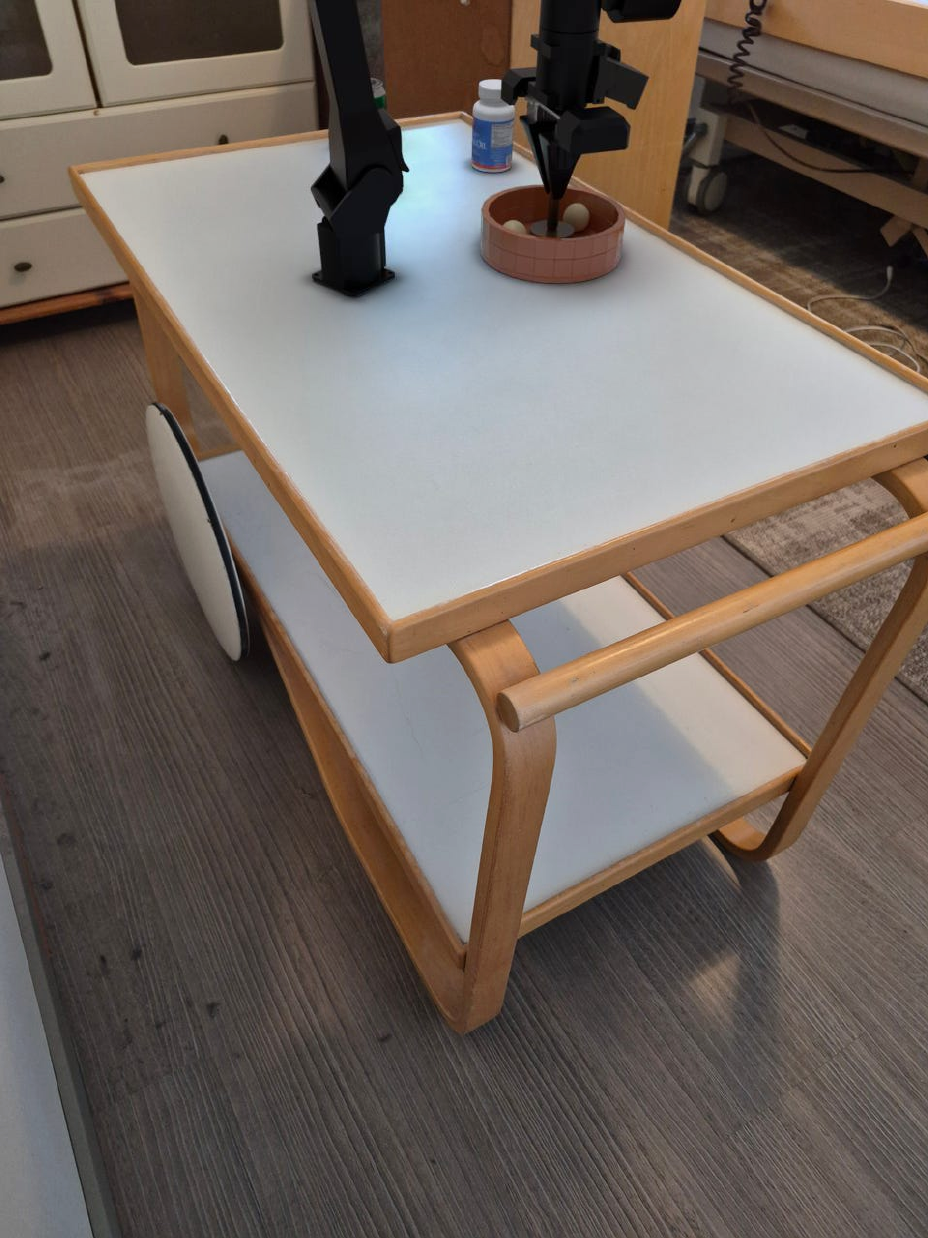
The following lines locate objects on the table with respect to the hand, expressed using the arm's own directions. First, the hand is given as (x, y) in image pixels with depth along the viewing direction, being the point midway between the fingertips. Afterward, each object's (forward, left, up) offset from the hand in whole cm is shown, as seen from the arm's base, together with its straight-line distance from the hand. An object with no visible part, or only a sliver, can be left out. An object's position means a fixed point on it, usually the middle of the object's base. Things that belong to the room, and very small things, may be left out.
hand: (554, 196), depth 97 cm
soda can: (0, +27, -6) cm, 28 cm away
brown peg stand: (0, 0, -6) cm, 6 cm away
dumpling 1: (-3, +3, -4) cm, 6 cm away
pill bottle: (+17, +21, -6) cm, 28 cm away
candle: (+11, +39, -6) cm, 41 cm away
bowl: (0, 0, -6) cm, 6 cm away
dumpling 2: (+5, 0, -4) cm, 7 cm away
